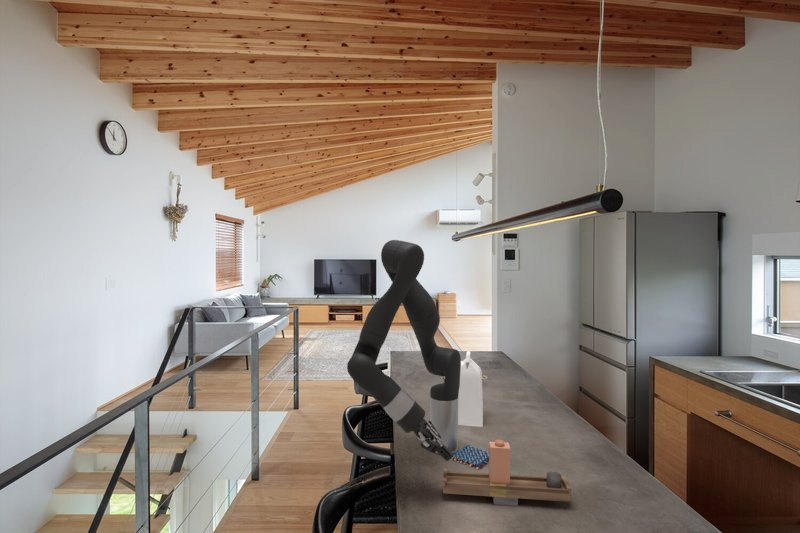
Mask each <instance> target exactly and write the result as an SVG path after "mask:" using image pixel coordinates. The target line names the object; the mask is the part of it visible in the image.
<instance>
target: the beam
mask: <svg viewBox="0 0 800 533" xmlns="http://www.w3.org/2000/svg"><path fill="white" fill-rule="evenodd" d="M442 493H443V494H446V495H447V494H448V495H449V494H450V495H461V496H462V495H466V496H479V497H492V501H493V505H500V506H514V507H519V499H523V500H524V499H525V500H538V501H539V500H540V501H541V500H542V501H552V502H553V501H554V502H555V501H556V502H568V503H571V502H572V487H571V485H570V483H569V481H568V480H567V478H566V476H565V475H562V474H560V473H559V472H557V471H547V473H546V476H536V475H535V476H534V475H532V476H531V475H520V474H519V475H517V474H515V475H514V474H510V485H506V484H490V482H489V473H485V472H467V471H451V470H448V469H447V468H443V469H442Z"/></svg>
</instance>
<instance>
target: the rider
mask: <svg viewBox="0 0 800 533" xmlns="http://www.w3.org/2000/svg"><path fill="white" fill-rule="evenodd" d="M488 447H489V448H488V450H489V451H488V452H489V462H488V474H489V482H490V484H506V485H510V475H511V446H510V443H509V442H505V440H503V439H500V438H499V439H498V438H497V439H494V441H489V443H488Z"/></svg>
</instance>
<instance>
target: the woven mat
mask: <svg viewBox="0 0 800 533" xmlns="http://www.w3.org/2000/svg"><path fill="white" fill-rule="evenodd" d="M450 460H451V461H454V462H456V463H460V464H463V465H466V466H469V467H470V468H472V469H476V470H480V469H482V468H483V467H484V466H486V465H488V464H489V451H487V450H483V449H481V448H479V447H475V446H472V445H465V447H464V446H463V447H462V448H461V449H459V450H457V451H456V452H455V453H452V458H450Z"/></svg>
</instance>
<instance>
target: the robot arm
mask: <svg viewBox="0 0 800 533" xmlns="http://www.w3.org/2000/svg"><path fill="white" fill-rule="evenodd" d="M424 252H425V251H424V250H423V248H422V247H421V246H420V245H419V244H417V243H413V242H408V241H404V240H398V239H391V240H388V241H387V242H386V243H384V245H383V246H382V248H381V253H380V254H381V255H380V256H381V257H380V258H381V263H382V266H383V268H384V270H385V272H386V273H387V275H388V277H389V278H390V281H391V282H392V283H391V284H390V286H389V287H388V289H387V290H386V292H384V294H383V295H382V296H381V297H380V298H379V299H378V300H377V301H376V302H375V303H374V305H373V306H372V307H371V308H370V310H369V311H368V314H367V315H366V318H365V321H364V323H363V326H362V328H361V331H360V333H359V339H358V341H357V344H356V346H355V348H354V350H353V353H352V355H351V357H350V358H349V359H348V362H347V363H346V364H347V366H346V370H347V373H348V376H350V378H351V379H352V380H353V381H354V382H355V383H356V384H357V385H359V386H360V387H361V388H362V389H363V390H364V391H366V392H367V393H368V394H369V395H371V397H372V398H373V399H374V400H375V401H376V403H377V404H379V405H380V406H381V408H382V409H383V410H384V411H385V412H386V414H387V415H388V416H389V417H390V418H391V419H392V421H394V423H395V424H396V425H397V426H398V427H399V428H400V429H402V431H403V432H404V433H406V434H409V433H411V432H413V433H414V435H415V437H416V438H417V439H418V440H419V441H421V442H420V445H419V446H420V447H421V448H422V449H424V450H426V451H429V452H430V453H433V454H438V455H440V456H441V457H442V459H443V460H445V462H448V461H450V460H451V459H452V454H455V452H457V451H459V425H458V393H459V387H460V370H461V361H462V360H461V359H462V358H461V354H460V351H459V350H457V349H455V348H449V347H443V346H442V347H441V346H439V345H437V342H436V340H435V335H436V333H437V331H438V329H439V326H440V322H441V317H440V313H439V311H438V309H437V308H438V307H437V305H436V303H435V300H434V299H433V297H432V296H431V294H430V293H429V292H428V290H426V288H425V287H424V286H423V285H422V284H421V283H420V282H419V280H418V279H417V278H418V276H419V274H420V272H421V269H422V268H423V265H424V263H425V262H424V261H425V253H424ZM401 306H403V308H404V311H405V314H406V317H407V318H408V321H409V324H410V326H411V328H412V330H413V332H414V335H415V337H416V340H417V342H418V345H419V348H420V353H421V357H422V359H423V363H424V366H425V368H426V370H427V372H428V373H430V374H431V375H434V376H439V377H444V382H442V383H438V384H434V385H433V386H431V388H430V392H429V393H430V394H429V395H430V396H429V400H430V401H429V412H430V413H429V415H430V416H429V419H430V420H425V417H426V411H425V409H423V408H422V407H421V405H419V403H418V402H417V401H416V400H414V398H413V397H412V396H411V395H410V394H409V393H407V392H406V391H405V390H404V389H403V388H402V387H400V385H399V384H398V383H397V382H396V381H395V380H394V379H393V377H391V376H389V375H387V374H386V373H384V371H382V370H381V368H380V367H378V365H377V361H378V357H379V355H380V352H381V348H382V347H383V345H384V343H385V341H386V339H387V337H388V334H389V331H390V329H391V326H392V323H393V321H394V319H395V316H396V315H397V313H398V310H399V309H400V307H401Z"/></svg>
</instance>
